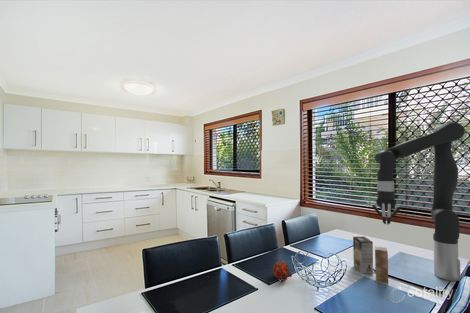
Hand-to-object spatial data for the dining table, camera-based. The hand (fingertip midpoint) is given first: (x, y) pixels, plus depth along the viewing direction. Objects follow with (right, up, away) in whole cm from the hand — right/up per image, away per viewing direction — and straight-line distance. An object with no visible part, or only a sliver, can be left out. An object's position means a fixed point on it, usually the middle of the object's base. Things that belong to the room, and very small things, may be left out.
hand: (386, 224), depth 124 cm
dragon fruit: (-54, -26, -4) cm, 60 cm away
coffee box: (-9, -26, +5) cm, 28 cm away
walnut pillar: (-7, -25, -7) cm, 27 cm away
